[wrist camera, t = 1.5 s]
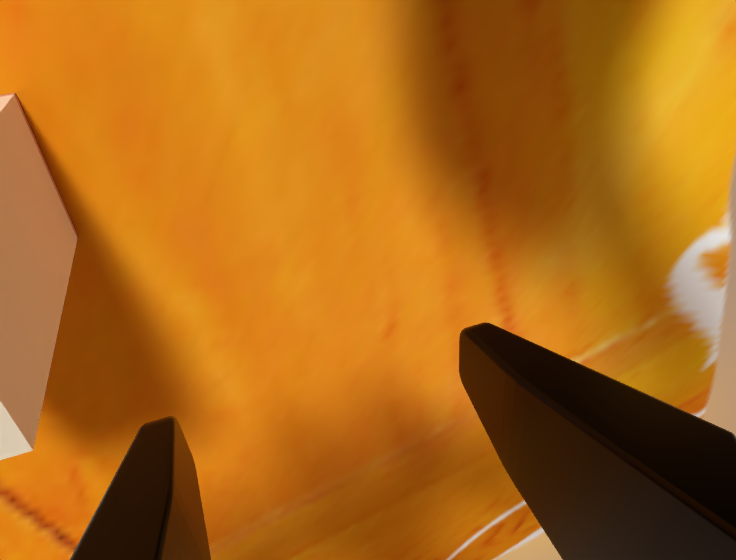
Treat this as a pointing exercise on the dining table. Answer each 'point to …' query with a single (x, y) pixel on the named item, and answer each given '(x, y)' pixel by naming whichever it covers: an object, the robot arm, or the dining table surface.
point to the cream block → (28, 277)
